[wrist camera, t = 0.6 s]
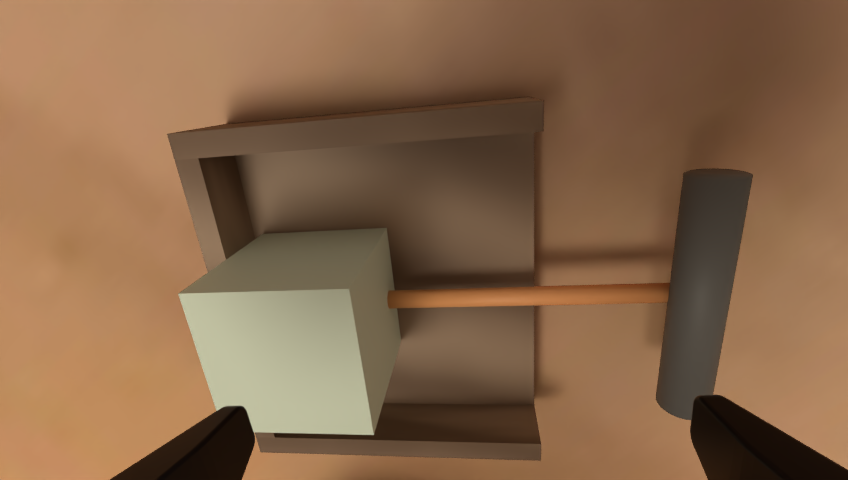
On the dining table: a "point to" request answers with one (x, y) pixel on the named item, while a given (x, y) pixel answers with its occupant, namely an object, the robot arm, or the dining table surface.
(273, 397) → the corded block
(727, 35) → the dining table surface
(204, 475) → the robot arm
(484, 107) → the brown wooden tray
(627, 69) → the dining table surface
